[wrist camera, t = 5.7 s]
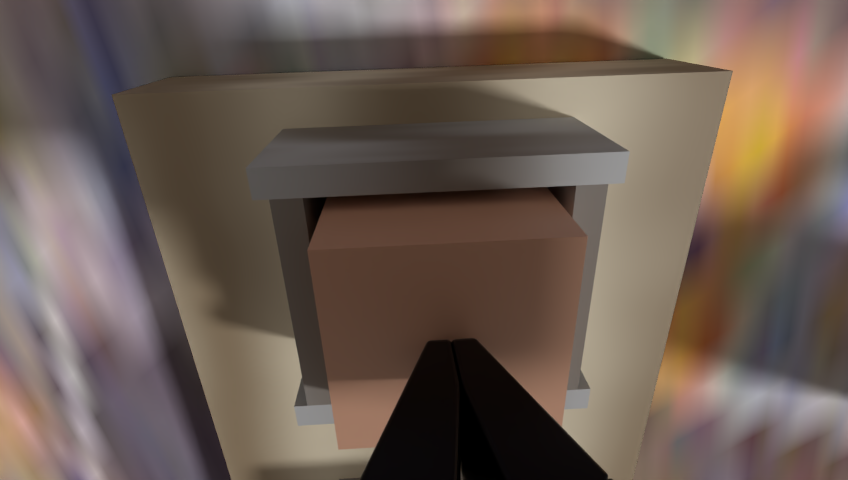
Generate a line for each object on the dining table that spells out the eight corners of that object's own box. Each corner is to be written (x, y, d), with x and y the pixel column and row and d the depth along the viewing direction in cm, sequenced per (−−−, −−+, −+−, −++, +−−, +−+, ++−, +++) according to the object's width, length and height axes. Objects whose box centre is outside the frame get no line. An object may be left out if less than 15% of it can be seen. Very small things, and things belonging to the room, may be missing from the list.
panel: (285, 529, 22) (248, 698, 17) (170, 77, 13) (12, 124, 8) (583, 509, 22) (642, 667, 17) (665, 58, 14) (843, 91, 8)
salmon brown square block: (351, 350, 12) (338, 449, 9) (331, 185, 10) (307, 250, 7) (524, 340, 12) (560, 436, 9) (537, 176, 10) (588, 236, 7)
